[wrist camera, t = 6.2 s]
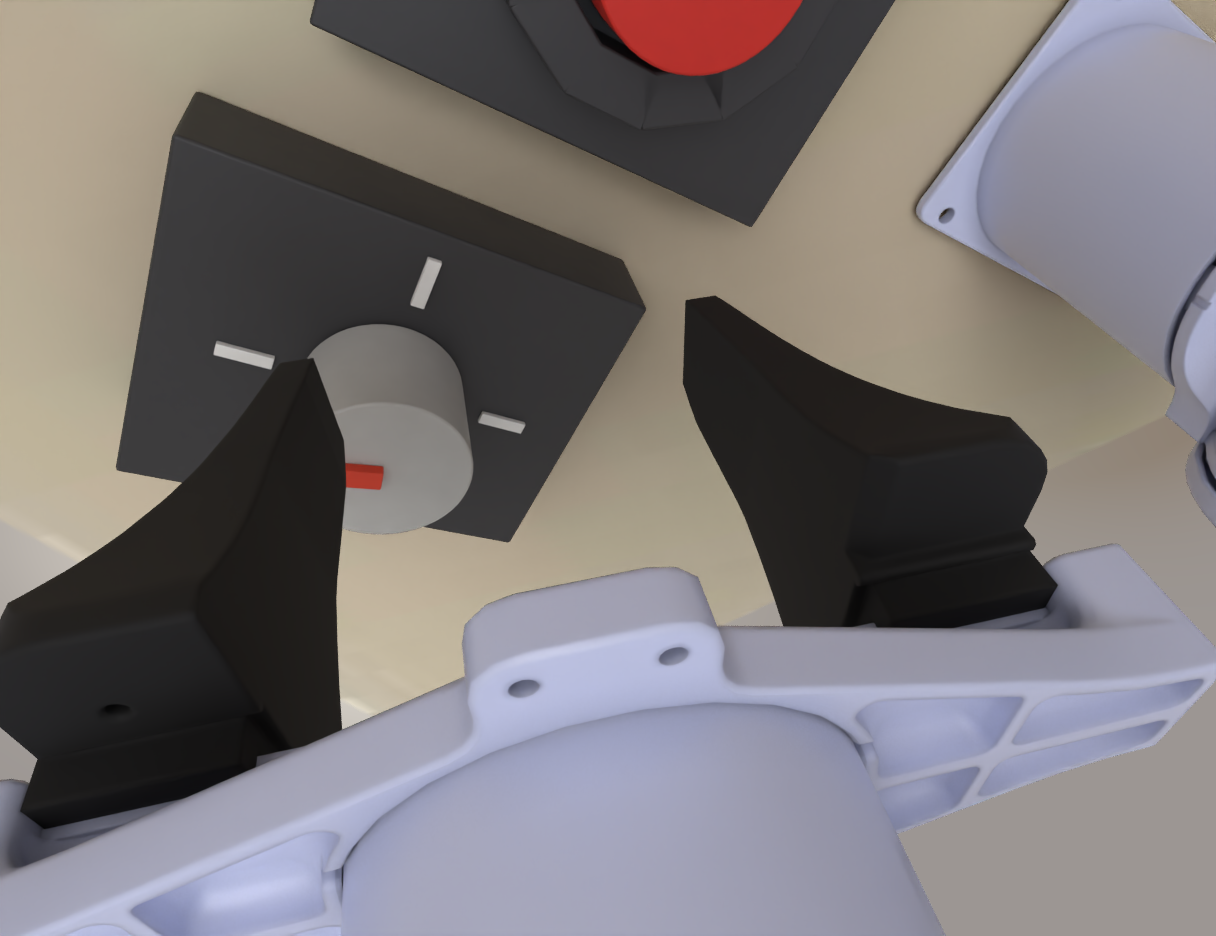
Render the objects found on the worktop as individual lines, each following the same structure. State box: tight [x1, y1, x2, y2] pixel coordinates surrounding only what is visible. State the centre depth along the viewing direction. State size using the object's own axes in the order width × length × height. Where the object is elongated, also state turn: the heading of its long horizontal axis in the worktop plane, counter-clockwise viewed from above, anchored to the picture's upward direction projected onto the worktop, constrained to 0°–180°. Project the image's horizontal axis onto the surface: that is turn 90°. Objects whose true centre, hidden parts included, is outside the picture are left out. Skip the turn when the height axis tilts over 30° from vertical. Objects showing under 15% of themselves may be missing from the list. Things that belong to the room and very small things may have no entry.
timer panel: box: [116, 92, 646, 542], centre depth 23 cm, size 12×10×3 cm
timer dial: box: [307, 324, 473, 534], centre depth 20 cm, size 4×4×4 cm
